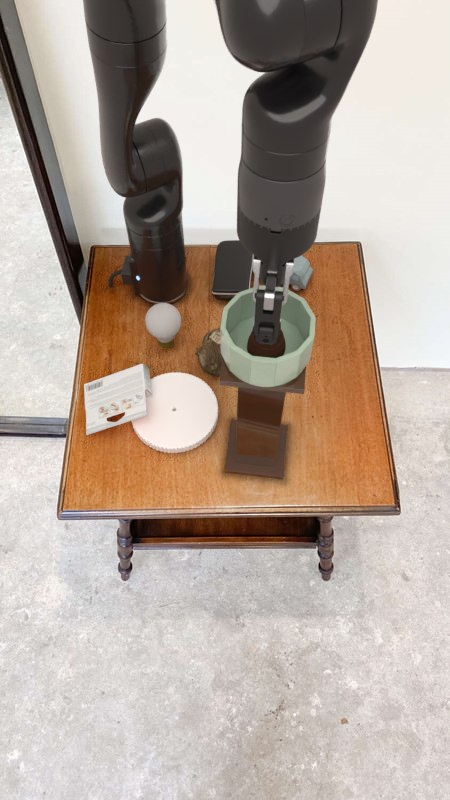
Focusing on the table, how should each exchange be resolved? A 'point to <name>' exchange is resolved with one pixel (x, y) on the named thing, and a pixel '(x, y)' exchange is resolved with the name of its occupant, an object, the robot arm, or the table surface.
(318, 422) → the table surface
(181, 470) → the table surface
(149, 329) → the light bulb
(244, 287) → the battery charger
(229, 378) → the green pedestal cup
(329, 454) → the table surface
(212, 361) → the fossilized seashell
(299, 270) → the toy car
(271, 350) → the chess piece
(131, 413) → the ink box
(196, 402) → the plastic lid
